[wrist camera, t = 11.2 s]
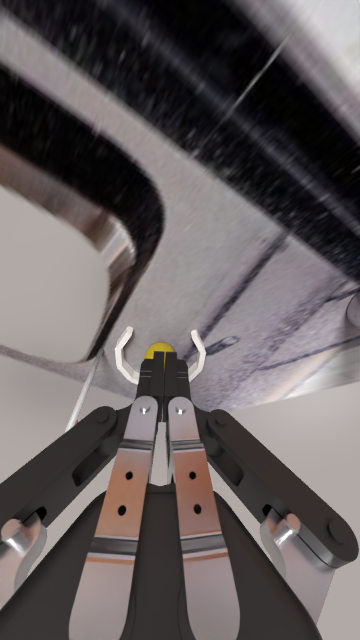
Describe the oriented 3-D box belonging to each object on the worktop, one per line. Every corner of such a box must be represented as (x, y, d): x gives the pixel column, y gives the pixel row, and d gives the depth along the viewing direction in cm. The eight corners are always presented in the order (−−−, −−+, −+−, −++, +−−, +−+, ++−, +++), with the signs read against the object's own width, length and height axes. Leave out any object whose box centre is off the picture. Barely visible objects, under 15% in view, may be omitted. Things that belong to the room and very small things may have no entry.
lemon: (163, 361, 42) (162, 395, 35) (140, 347, 40) (133, 380, 33) (182, 344, 40) (184, 377, 33) (158, 328, 38) (156, 359, 31)
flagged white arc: (207, 330, 38) (228, 409, 25) (197, 382, 45) (209, 466, 32) (95, 324, 36) (53, 406, 23) (103, 380, 44) (74, 467, 30)
